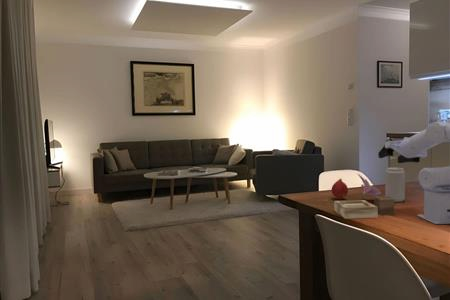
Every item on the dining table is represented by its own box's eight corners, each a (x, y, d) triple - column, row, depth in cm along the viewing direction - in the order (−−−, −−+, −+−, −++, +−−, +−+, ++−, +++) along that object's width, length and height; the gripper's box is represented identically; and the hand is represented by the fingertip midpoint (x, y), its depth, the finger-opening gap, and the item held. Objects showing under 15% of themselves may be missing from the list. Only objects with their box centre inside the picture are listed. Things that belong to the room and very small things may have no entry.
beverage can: (406, 202, 133) (407, 169, 132) (387, 202, 134) (387, 169, 133) (401, 199, 139) (402, 167, 138) (383, 198, 140) (384, 167, 139)
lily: (379, 210, 127) (391, 185, 128) (346, 194, 131) (357, 170, 132) (376, 213, 138) (387, 189, 139) (346, 198, 142) (356, 176, 143)
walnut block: (394, 214, 117) (394, 199, 116) (380, 215, 117) (380, 199, 116) (387, 211, 121) (387, 196, 121) (373, 211, 121) (373, 196, 121)
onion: (330, 200, 139) (330, 179, 138) (333, 197, 144) (333, 177, 143) (346, 201, 136) (346, 180, 135) (349, 198, 141) (349, 177, 140)
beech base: (377, 217, 113) (377, 207, 113) (345, 218, 113) (345, 207, 113) (364, 209, 123) (364, 200, 123) (334, 210, 123) (334, 200, 123)
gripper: (436, 137, 119) (406, 152, 131) (397, 126, 116) (370, 142, 128) (438, 157, 116) (407, 170, 128) (398, 146, 113) (370, 161, 126)
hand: (389, 157), depth 128 cm, fingers open, 7 cm apart
